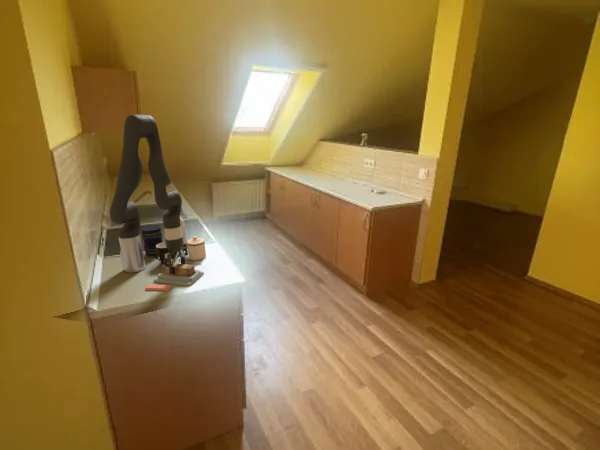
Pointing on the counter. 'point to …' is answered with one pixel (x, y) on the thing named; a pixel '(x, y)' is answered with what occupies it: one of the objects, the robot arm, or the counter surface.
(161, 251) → the coffee mug
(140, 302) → the counter surface
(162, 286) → the salmon pink bar
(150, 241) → the storage jar
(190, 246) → the teacup with lid
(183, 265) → the plank with peg
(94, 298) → the counter surface
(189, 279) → the cradle jig
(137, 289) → the counter surface
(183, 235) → the bottle
